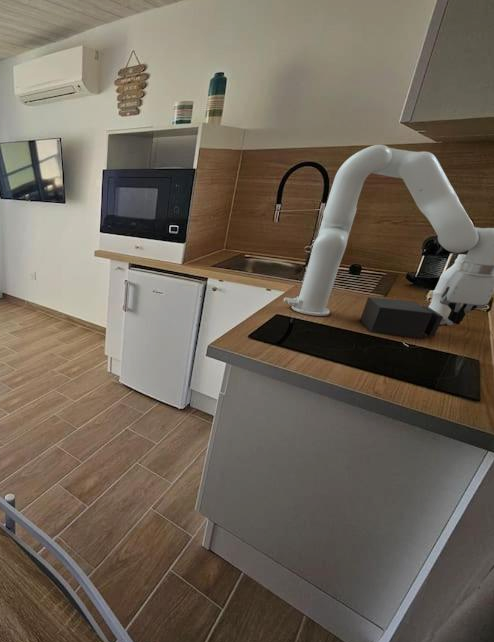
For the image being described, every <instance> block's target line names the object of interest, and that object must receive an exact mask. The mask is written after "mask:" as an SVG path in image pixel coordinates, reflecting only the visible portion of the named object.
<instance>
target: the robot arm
mask: <svg viewBox="0 0 494 642" xmlns="http://www.w3.org/2000/svg"><path fill="white" fill-rule="evenodd" d="M370 174H375V175H379V176H384V177H390V178H397V179H402V181H403V182H404V184H405V186H406V188H407V189H408V191H409V193H410V195H411V197H412V199H413V200H414V203H415V204H416V206H417V208H418V209H419V211H420V212H421V214H423V215H424V216H425V217H426V219H427V220H428V221H429V223H430V224H431V226H432V228H433V230H434V231H435V234H436V235H437V241H438V244H439V245H440V246H441V247H442V248H443V249H444V250H446V251H448V252H450V253H456V254H457V253H459V254H460V253H464V252H467V254H466V255H467V256H466V258H465V260H464V262H463V264H462V267H461V269H460V270H456V271H455V272H454V274H453V275H452V276H451V278H450V279H449V281H448V282H447V284H446V286H445V287H444V289H443V291H442V293H441V297H442V299H441V300H440V303H441V304H444V305H447V306H449V308H450V309H451V312H450V314H449V316H448V319H449V320H450V321H452V322H453V325H455V324H456V325H460V324H461V322H463V320H464V318H465V316H466V314H469V313H470V312H471V311H473V310H477V309H478V310H479V309H485V308H487V307H486V306H487V304H488V303H489V302H490V300H491V299H492V296H493V294H494V227H476V226H475V225H474V224H473V222H472V219H471V218H470V216H469V215H468V213H467V211H466V209H465V208H464V206H463V205H462V203H461V201H460V198H459V196H458V194H457V193H456V191H455V189H454V187H453V186H452V184H451V183H450V180H449V179H448V176H447V175H446V172H445V171H444V169H443V167H442V166H441V163H440V161H439V160H438V158H437V157H436V156H435V155H434V153H432V152H429V151H412V150H405V149H398V148H392V147H389V146H387V145H385V144H374V145H370V146H368V147H366V148H363V149H361V150H359V151H357V152H356V153H354V154H352V155H351V156H349V158H347V159H346V160H345V161H344V162H343V163H342V165H340V167H339V169H338V170H337V172H336V174H335V176H334V179H333V182H332V185H331V189H330V191H329V194H328V198H327V202H326V205H325V208H324V209H323V212H322V219H321V223H320V226H319V231H318V234H317V236H316V237H315V239H314V242H313V245H312V249H311V253H310V256H309V260H308V264H307V268H306V271H305V274H304V278H303V281H302V285H301V289H300V291H299V296H298V295H297V296H296V297H293V298H290V297H284V298H283V303H287V304H288V305H291V307H290V308H291V309H292V310H293V311H295V312H297V313H300V314H304V315H308V316H315V317H325V316H329V315H330V312H331V311H330V309H329V308H327V306H328V303H329V300H330V297H331V294H332V290H333V287H334V285H335V282H336V278H337V274H338V271H339V269H340V265H341V262H342V259H343V256H344V254H345V251H346V248H347V244H348V240H349V237H350V232H351V229H352V226H353V223H354V219H355V216H356V213H357V209H358V208H357V205H358V201H359V198H360V195H361V193H362V190H363V187H364V184H365V181H366V179H367V177H369V175H370Z"/></svg>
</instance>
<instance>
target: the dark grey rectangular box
mask: <svg viewBox="0 0 494 642" xmlns="http://www.w3.org/2000/svg"><path fill="white" fill-rule="evenodd" d="M423 306H424V305H421V304H420V303H418V302H417V301H408V300H399V299H389V298H382V297H381V298H380V297H373V296H372V297H371V296H368V297H367V299H366V302H365V305H364V308H363V311H362V314H361V316H360V320H359V321H360V322H361V323H362V324H363V325H364V326H365V327H366V328H367V329H368V330H369V332H371V333H376V334H384V335H385V334H386V335H393V336H401V337H407V338H414V339H423V336H424V334H425V333H424V332H425V330H426V328H427V326H428V323H429V321H430V319H431V317H432V314H433V313H432V312H430V311H429V310H427V309H426V308H424V307H423Z"/></svg>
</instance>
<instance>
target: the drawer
mask: <svg viewBox="0 0 494 642" xmlns="http://www.w3.org/2000/svg"><path fill="white" fill-rule="evenodd" d="M422 306H423V307H424V308H426V309H427V310H429V311H430V312H432V313H433V314H432V317H431V319H430V321H429V323H428V326H427V328H426V330H425V332H424V334H426V335H427V336H428V337H431V338H434V337H435V335H436V334H437V331H438V329H439V327H440V323H445V324H444V325H447V326H453V325H454V324H453V322H452V321H450V320H449V319H447V318H446V317H444V316H441V315H440V314H438V313H437V312H435V311H434V310H432V309H431V308H429V305H422Z"/></svg>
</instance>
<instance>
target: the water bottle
mask: <svg viewBox="0 0 494 642" xmlns="http://www.w3.org/2000/svg"><path fill="white" fill-rule="evenodd" d="M466 256H467V254H463V253H462V254H461V253H459V254H458V255H457V258H455V260H454V263H453V264H452V265H451V266H450V267H448V268H447V269H445V270H444V271H443V272H442V273H441V274H440V276H439V279H438V280H437V284H436V286H435V288H434V290H433V292H432V299H431V302H430V304H429V305H428V307H429V308H431V309H432V310H434V311H435V312H437V313H438V314H440V315H441V316H444V317H446V318H447V319H448V316H449V314H450V312H451V309H450V308H449V306H447V305H444V304H441V303H440V300H441V299H442V297H441V293H442V291H443V289H444V287H445V286H446V284H447V282H448V281H449V279H450V278H451V276H452V275H453V274H454V272H455V271H456V270H460V269H461V267H462V264H463V262H464V260H465V258H466ZM440 325H441V326H442V325H446V324H445V323H440ZM440 325H439V326H440Z"/></svg>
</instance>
